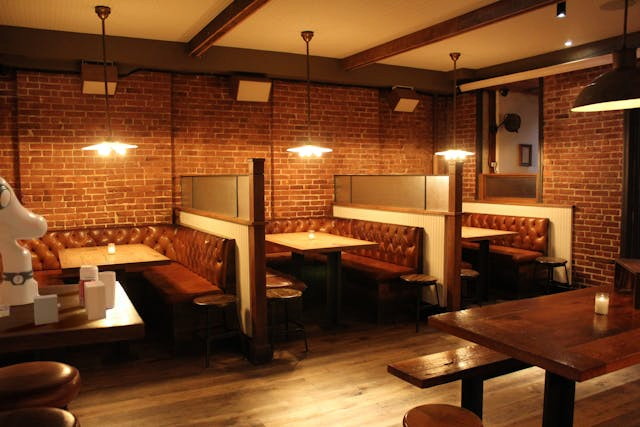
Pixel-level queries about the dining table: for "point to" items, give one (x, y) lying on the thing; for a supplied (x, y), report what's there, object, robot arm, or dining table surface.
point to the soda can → (81, 289)
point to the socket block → (95, 300)
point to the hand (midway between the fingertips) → (9, 309)
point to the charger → (46, 309)
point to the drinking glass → (108, 287)
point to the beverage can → (89, 271)
